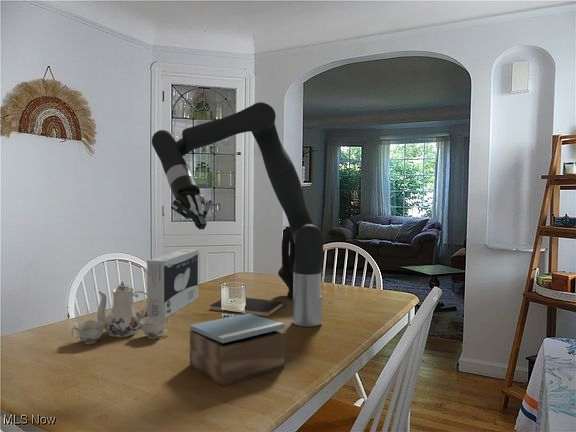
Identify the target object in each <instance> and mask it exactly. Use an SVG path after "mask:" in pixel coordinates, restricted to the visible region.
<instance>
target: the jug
mask: <svg viewBox="0 0 576 432" xmlns="http://www.w3.org/2000/svg"><path fill="white" fill-rule="evenodd" d="M294 262H295V243H294V241H293V237H292V233H291V229H290V226H289V225H287V226H285V230H284V232H283V236H282V239H281V267H280V269H279V270H278V272H277V275H278V276H279V278H280V279H281V280H282V282H283V283H284V284H285V285H286V287H287V288H288V292H287V297H288V298H291V299H293V274H294ZM322 277H323V272H322V270H321V278H322Z"/></svg>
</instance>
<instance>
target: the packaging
mask: <svg viewBox="0 0 576 432" xmlns="http://www.w3.org/2000/svg"><path fill="white" fill-rule="evenodd" d="M146 287H147V288H146V293H148V294H149V296H150V298H151V304H150V306H149V307H148V308H147V309H146V310H147V311H146V313H147V315H146V316H147V317H148V318H152V317H154V316H161V317H163V318H168V317H170V316H172V315H174V314H175V313H176V312H179V311H180V310H181V309H184V308H185V307H186V306H189V305H190V304H191V303H194V301H196V300H198V299H199V249H196V248H193V249H191V248H183V249H180V250H176V251H173V252H169V253H168V254H163V255H161V256H157V257H155V258H150V259H148V260H146ZM146 296H147V295H146ZM146 302H147V303H146V306H147V305H148V303H149V298H148V296H147V297H146Z"/></svg>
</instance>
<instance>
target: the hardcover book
mask: <svg viewBox="0 0 576 432" xmlns="http://www.w3.org/2000/svg"><path fill="white" fill-rule="evenodd" d="M245 298H246V306H245V313H244V314H248V313H249V314H252V315H256V316H260V317H262V316H263V317H268V316H270V315H271V314H273V313H275V312H276V311H277V310H279V309H280V308H281V307H283V306H284V301H283V300H273V299H263V298H262V299H261V298H254V297H245ZM221 300H222V299H219V300H217V301H216V302H214V303H211V304H210V305H209V306H210V309H211V311H220V312H222V311H221Z"/></svg>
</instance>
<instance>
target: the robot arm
mask: <svg viewBox="0 0 576 432" xmlns="http://www.w3.org/2000/svg"><path fill="white" fill-rule="evenodd" d="M276 116H277V115H276V111H275V109H274V107H273V106H271V104H269V103H267V102H263V101H258V102H256V103H253V104H252V105H250V106H248V107H246V108H244V109H242V110H240V111H237V112H235V113H232V114H229V115H228V116H225V117H221V118H218V119H214V120H210V121H207V122H203V123H199V124H197V125H193V126H189V127H186V128H185V129H182V132H181V136H182V137H181V138H180V139H178V140H177V141H176V139H175V136H174V135H173V134H172V133H171V132H170V131H169V130H166V129H159V130H157V131H156V132H154V134H153V136H152V137H151V144H152V147H153V149H154V152H155V153H156V155H157V157H158V158H159V161H160V162H161V166H162V168H163V171H164V172H163V173H165V177H166V179H167V180H166V181H167V183H168V186H169V188H170V190H171V193H172V195H173V196H174V199H175V200H173V201H172V204H171V206H170V208H171V209H172V210H173V211H175V212H176V213H177V214H179V215H181V216H182V217H183V218H185V219H191V221H193V223H194V226H195V228H197V229H198V230H199V231H200V230H205V229H206V227H207V224H208V223H207V221H206V217H207V215H208V213H209V211H210V210H211V206H212V204H213V200H212V199H209V200H206V199H205V198H204V196H203V195H202V194H201V191H200V187H199V185H198V183H197V181H196V179H195V177H194V175H193V172H192V170H191V169H190V167H189V166H188V163H187V162H186V160H185V157H184V156H186V155H187V154H189V153H191V152H192V151H194V150H197V149H200V148H203V147H206V146H210V145H213V144H216V143H218V142H220V141H224V140H225V139H227V138H231V137H233V136H235V135H239V134H242V133H243V134H245V133H248V132H251V134H252V135H253V137H254V139H255V141H256V144H257V145H258V148H259V150H260V152H261V157H262V160H263V163H264V164H263V165H264V167H265V171H266V174H267V176H268V180H269V182H270V185H271V187H272V189H273V191H274V193H275V197H276V198H277V200H278V202H279V204H280V206H281V208H282V210H283V211H284V214H285V216H286V219H287V221H288V226H290V229H291V233H292V237H293V241H294V243H295V262H294V274H293V298H292V323H293V324H294V326H299V327H315V326H320V325H322V324H323V295H322V293H321V292H322V290H321V289H322V277H321V271H322V266H323V263H324V262H323V261H324V260H323V259H324V235H323V232H322V230H320V228H319V227H317V225H315V224H314V222H313V220H312V218H311V216H310V214H309V211H308V209H307V207H306V202H305V197H304V191H303V188H302V187H303V186H302V183H301V180H300V176H299V174H298V172H297V170H296V166H295V165H294V163H293V161H292V159H291V157H290V156H289V154H288V152H287V151H286V149H285V147H284V145H283V144H282V142H281V140H280V137H279V134H278V131H277V127H276Z"/></svg>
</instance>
